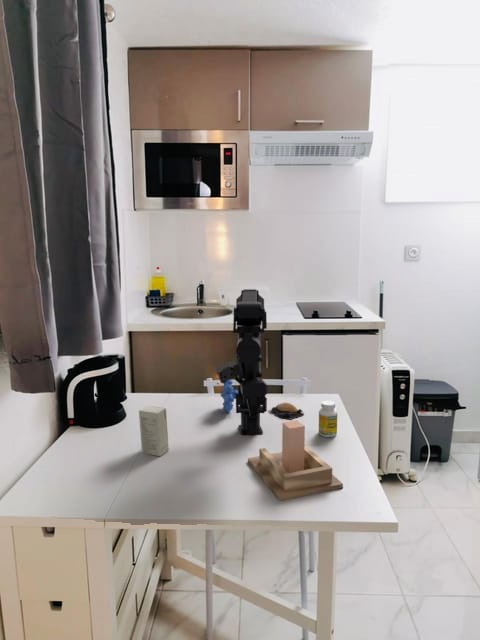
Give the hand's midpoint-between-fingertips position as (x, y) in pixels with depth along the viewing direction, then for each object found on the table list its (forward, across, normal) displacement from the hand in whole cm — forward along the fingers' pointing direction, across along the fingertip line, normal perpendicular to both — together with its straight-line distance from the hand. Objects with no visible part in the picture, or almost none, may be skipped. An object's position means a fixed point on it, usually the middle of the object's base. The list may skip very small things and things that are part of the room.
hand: (249, 410), depth 129 cm
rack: (+13, +11, +9) cm, 19 cm away
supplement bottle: (+13, -11, +25) cm, 30 cm away
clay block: (+12, +11, +9) cm, 19 cm away
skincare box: (+13, -7, -25) cm, 29 cm away
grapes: (+13, -33, -1) cm, 36 cm away
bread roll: (+14, -29, +17) cm, 36 cm away
